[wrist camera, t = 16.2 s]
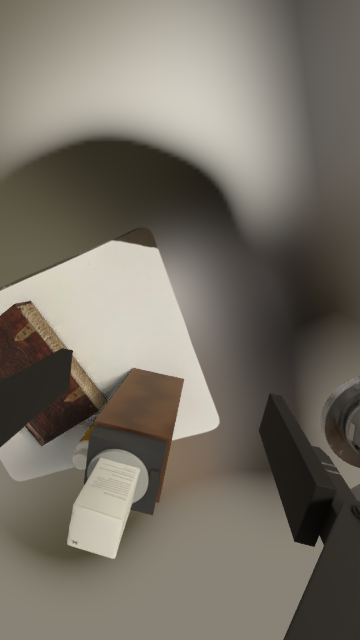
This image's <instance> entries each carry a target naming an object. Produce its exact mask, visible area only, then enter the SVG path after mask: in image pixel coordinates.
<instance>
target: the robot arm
mask: <svg viewBox="0 0 360 640" xmlns="http://www.w3.org/2000/svg"><path fill="white" fill-rule="evenodd" d="M72 354H73V350H68V349H64V348H61V349H59V350H58V351H56V352H54V353H52V354H50V355H48V356H47V357H45V358H43V359H41V360H39V361H37V362H36V363H34V364H32V365H30V366H28V367H26V368H25V369H23V370H21V371H19V372H17V373H15V374H14V375H12V376H10V377H3V378H0V447H1V446H2V445H4V444H5V443H6V442H7V441H8V440H9V439H10V438H12V437H13V436H14V435H15V434H16V433H17V432H19V431H20V430H21V429H22V428H23V427H24V426H26V425H27V424H28V423H29V422H30V421H31V420H32V419H34V418H35V417H36V416H37V415H38V414H39V413H41V412H42V411H43V410H44V409H45V408H46V407H48V406H49V405H50V404H51V403H52V402H53V401H54V400H56V399H57V398H58V397H59V396H60V395H61V394H63V393H64V392H65V391H66V390H67V389H68V388H70V377H71V365H72ZM343 431H344V435H345V438H346V440H347V441H348V443H349V444H350V445H351V446H352V448H353V449H354V450H355V451H356V452H357V453H358V454H360V401H359V402H357V403H356V404H355V405H353V406H352V407H351V409H350V410H349V411H348V413H347V414H346V417H345V419H344V423H343ZM259 433H260V436H261V439H262V442H263V445H264V448H265V451H266V455H267V458H268V461H269V464H270V467H271V470H272V473H273V476H274V479H275V483H276V486H277V488H278V492H279V495H280V498H281V501H282V504H283V507H284V510H285V514H286V517H287V520H288V523H289V526H290V529H291V532H292V535H293V538H294V541H295V542H298V543H301V544H305V545H309V546H313V547H314V546H315V544H316V542H317V539H318V537H319V535H320V537H321V540H322V542H323V544H324V547H323V550H322V552H321V555H320V557H319V559H318V561H317V563H316V566H315V568H314V570H313V573H312V575H311V577H310V580H309V582H308V584H307V587H306V589H305V591H304V593H303V596H302V598H301V600H300V603H299V605H298V607H297V610H296V612H295V614H294V617H293V619H292V621H291V624H290V626H289V628H288V630H287V633H286V635H285V637H284V640H360V484H359V485H357V486H355V487H354V488H352V489H350V488H349V487H348V485H347V484H346V482H345V481H344V479H343V478H342V476H341V475H340V473H339V471H338V470H337V468H336V467H335V465H334V464H333V462H332V461H331V459H330V458H329V456H327V454H326V453H325V452H324V451H323V450H321V449H320V448H319V447H315V446H311V444H310V442H309V441H308V439H307V437H306V436H305V434H304V432H303V431H302V429H301V427H300V426H299V424H298V422H297V421H296V419H295V417H294V415H293V414H292V412H291V410H290V409H289V407H288V405H287V404H286V402H285V400H284V399H283V397H282V396H280V395H275V394H269V398H268V401H267V405H266V408H265V411H264V415H263V418H262V422H261V425H260V428H259Z"/></svg>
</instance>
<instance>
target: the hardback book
mask: <svg viewBox="0 0 360 640" xmlns="http://www.w3.org/2000/svg"><path fill="white" fill-rule="evenodd" d="M61 348H64V349H67V348H66V347H65V345H64V344H63V343H62V341H61V340H60V339H59V338H58V336H57V335H56V334H55V332H54V331H53V330H52V328H51V327H50V326H49V325H48V323H47V322H46V321H45V319H44V318H43V317H42V316H41V314H40V313H39V312H38V310H37V309H36V308H35V306H34V305H33V304H32V303H31V301H28V302H22V303H17V304H14V305H13V306H11V307H10V308H9V309H8V310H7V311H5V312H4V313H3V314H2V315H1V316H0V378H3V377H10V376H12V375H14V374H15V373H17V372H19V371H21V370H23V369H25V368H26V367H28V366H30V365H32V364H34V363H36V362H37V361H39V360H41V359H43V358H45V357H47V356H48V355H50V354H52V353H54V352H56V351H58V350H59V349H61ZM106 401H107V400H106V398H105V397H104V396H103V395H102V393H101V392H100V391H99V389H98V388H97V387H96V386H95V384H94V383H93V382H92V380H91V379H90V378H89V376H88V375H87V374H86V373H85V371H84V370H83V369H82V367H81V366H80V365H79V363H78V362H77V361H76V360H75V358H74V357H73V356H72V365H71V377H70V388H68V389H67V390H66V391H65V392H64V393H63V394H61V395H60V396H59V397H58V398H57V399H56V400H54V401H53V402H52V403H51V404H50V405H49V406H48V407H46V408H45V409H44V410H43V411H42V412H41V413H39V414H38V415H37V416H36V417H35V418H34V419H32V420H31V421H30V422H29V423H28V424H27V425H26V426H25V427H26V428H27V429H28V430H29V432H30V433H31V434H32V435H33V436H34V438H35V439H36V440H37V441H38V442H39V444H40V445H41V446H43V445H45V444H46V443H48V442H49V441H51V440H53V439H54V438H56V437H58V436H59V435H61V434H63V433H64V432H66V431H67V430H69V429H71V428H72V427H74V426H76V425H77V424H79V423H80V422H82V421H84V420H85V419H87V418H89V417H90V416H92V415H94V414H95V413H97V412H98V411H99V410H100V409H101V408H102V406H103V405H104V404H105V402H106Z"/></svg>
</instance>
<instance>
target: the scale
mask: <svg viewBox="0 0 360 640" xmlns="http://www.w3.org/2000/svg"><path fill="white" fill-rule="evenodd" d="M167 443H168V441H165V440H160V439H156V438H152V437H148V436H144V435H139V434H135V433H131V432H127V431H123V430H118V429H114V428H110V427H106V426H102V425H96V427H95V428H94V430H93V431H92V432H91V434H90V435H89V443H88V452H87V461H86V470H85V479H84V485H85V483H86V482H87V480H88V478H89V476H90V475H91V473H92V471H93V469H94V468H95V466H96V464H97V462H98V460H99V458H105V459H108V460H112V461H115V462H119V463H122V464H126V465H130V466H133V467H137V468H139V469H140V473H139V476H138V480H137V483H136V488H135V492H134V497H133V502H132V506H131V510H134V511H139V512H142V513H146V514H150V515H153V512H154V508H155V503H156V498H157V493H158V488H159V483H160V478H161V473H162V468H163V463H164V458H165V453H166V448H167Z"/></svg>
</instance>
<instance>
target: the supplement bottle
mask: <svg viewBox="0 0 360 640" xmlns="http://www.w3.org/2000/svg"><path fill="white" fill-rule="evenodd" d="M93 429H94V424H93V425H92V426H91V427H90V428H89V430H88V431H87V432H86V434H85V435H84V436H83V438H82V439H81V441H80V442H79V443H78V445H77V446H76V449H75V454H74V456H73V457H72V464H73V466H74V467H76V468H77V469H80V470H84V469H86V461H87V452H88V443H89V435H90V434H91V432H92V431H93Z"/></svg>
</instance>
